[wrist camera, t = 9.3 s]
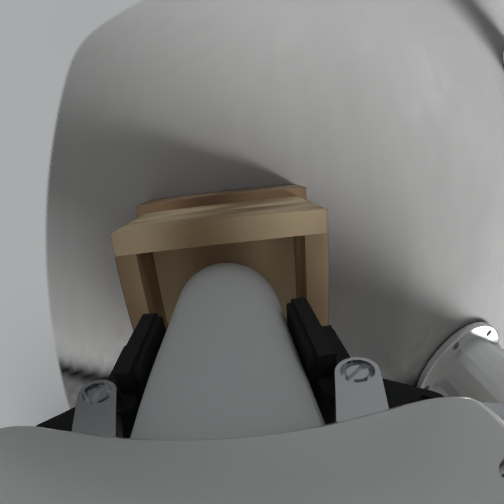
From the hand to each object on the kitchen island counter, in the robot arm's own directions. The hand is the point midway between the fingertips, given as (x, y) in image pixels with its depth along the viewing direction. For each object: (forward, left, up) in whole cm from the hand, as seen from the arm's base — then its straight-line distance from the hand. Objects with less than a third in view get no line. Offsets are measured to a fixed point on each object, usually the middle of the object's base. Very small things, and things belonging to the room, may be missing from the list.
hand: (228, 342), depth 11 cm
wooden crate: (0, 0, -10) cm, 10 cm away
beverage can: (0, 0, -3) cm, 3 cm away
